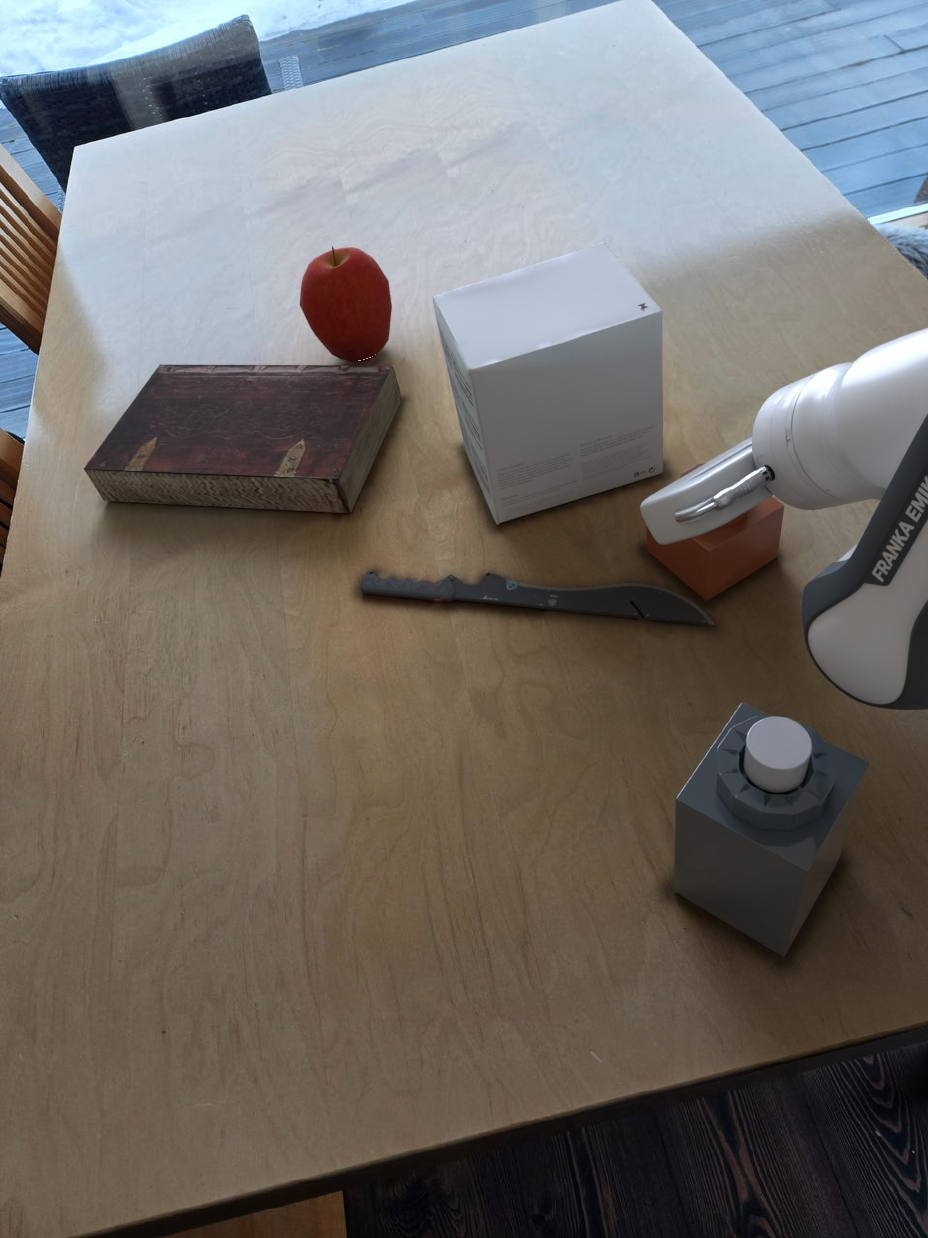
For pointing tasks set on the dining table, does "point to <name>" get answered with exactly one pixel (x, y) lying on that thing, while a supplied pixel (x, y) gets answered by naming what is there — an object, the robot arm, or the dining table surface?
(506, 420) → the supplement box
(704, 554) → the button base
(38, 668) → the dining table surface
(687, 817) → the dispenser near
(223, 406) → the book
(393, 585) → the knife
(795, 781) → the cylinder
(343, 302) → the apple
